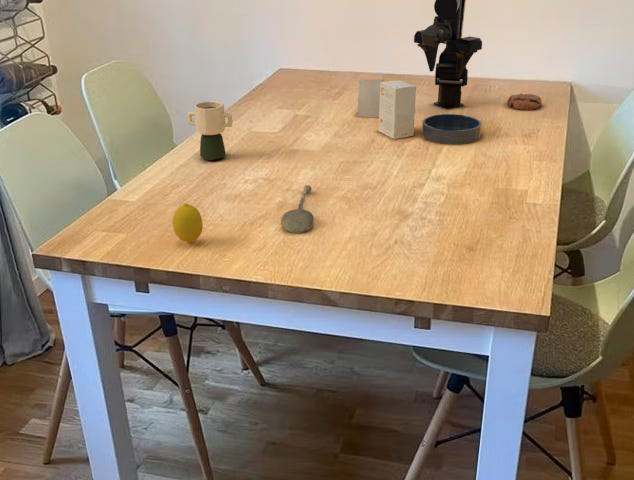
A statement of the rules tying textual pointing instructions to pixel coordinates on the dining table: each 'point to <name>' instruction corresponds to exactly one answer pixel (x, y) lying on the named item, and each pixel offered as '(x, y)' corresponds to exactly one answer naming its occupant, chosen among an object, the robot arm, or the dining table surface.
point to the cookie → (524, 101)
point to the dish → (451, 129)
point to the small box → (397, 109)
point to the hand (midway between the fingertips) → (444, 74)
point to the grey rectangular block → (369, 97)
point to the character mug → (210, 128)
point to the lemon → (187, 223)
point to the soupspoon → (298, 217)
